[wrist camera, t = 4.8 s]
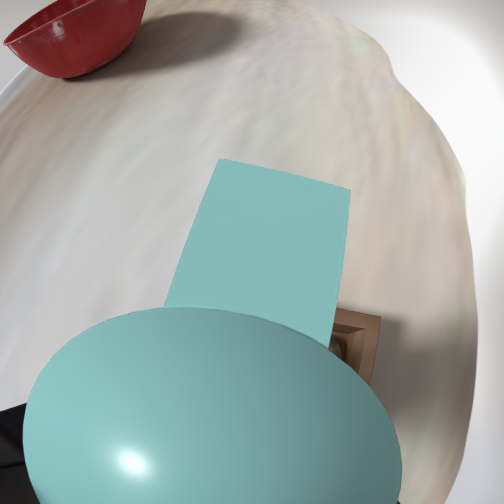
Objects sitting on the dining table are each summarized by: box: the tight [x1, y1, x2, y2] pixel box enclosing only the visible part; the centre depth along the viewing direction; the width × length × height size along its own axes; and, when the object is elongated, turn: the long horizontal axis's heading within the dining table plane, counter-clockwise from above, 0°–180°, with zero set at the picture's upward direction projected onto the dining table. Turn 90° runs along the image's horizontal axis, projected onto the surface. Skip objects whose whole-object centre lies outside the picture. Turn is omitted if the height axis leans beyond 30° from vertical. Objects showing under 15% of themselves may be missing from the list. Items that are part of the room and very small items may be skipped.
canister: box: [23, 158, 402, 504], centre depth 8 cm, size 7×5×12 cm
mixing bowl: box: [3, 0, 147, 78], centre depth 31 cm, size 28×28×15 cm
